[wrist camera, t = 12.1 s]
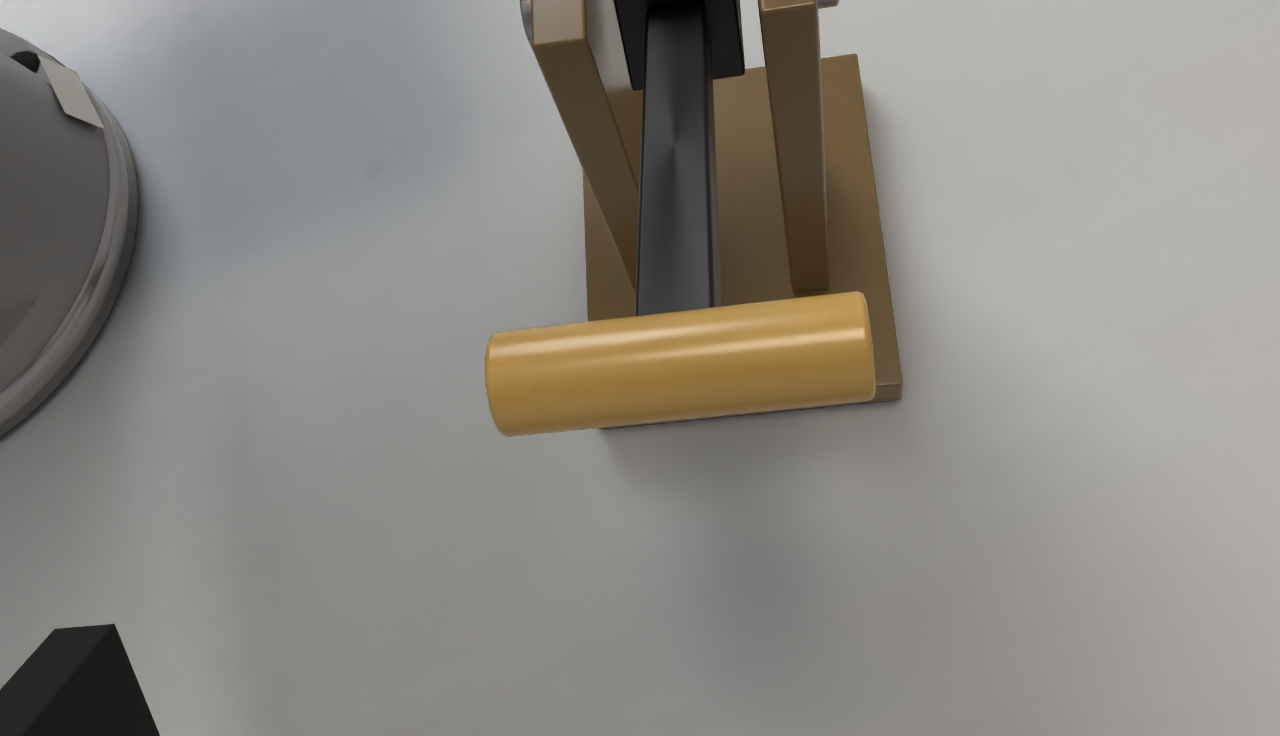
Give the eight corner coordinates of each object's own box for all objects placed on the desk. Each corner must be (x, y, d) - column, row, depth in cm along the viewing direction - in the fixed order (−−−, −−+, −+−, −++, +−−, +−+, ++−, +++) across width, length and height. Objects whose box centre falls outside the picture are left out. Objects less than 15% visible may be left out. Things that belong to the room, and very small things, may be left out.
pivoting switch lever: (879, 446, 15) (873, 318, 14) (515, 480, 16) (466, 363, 14) (807, -8, 24) (798, -123, 22) (570, 27, 24) (544, -81, 23)
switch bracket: (901, 400, 30) (931, 135, 18) (599, 429, 31) (445, 198, 19) (856, 77, 34) (858, -317, 22) (588, 114, 35) (453, -242, 23)
